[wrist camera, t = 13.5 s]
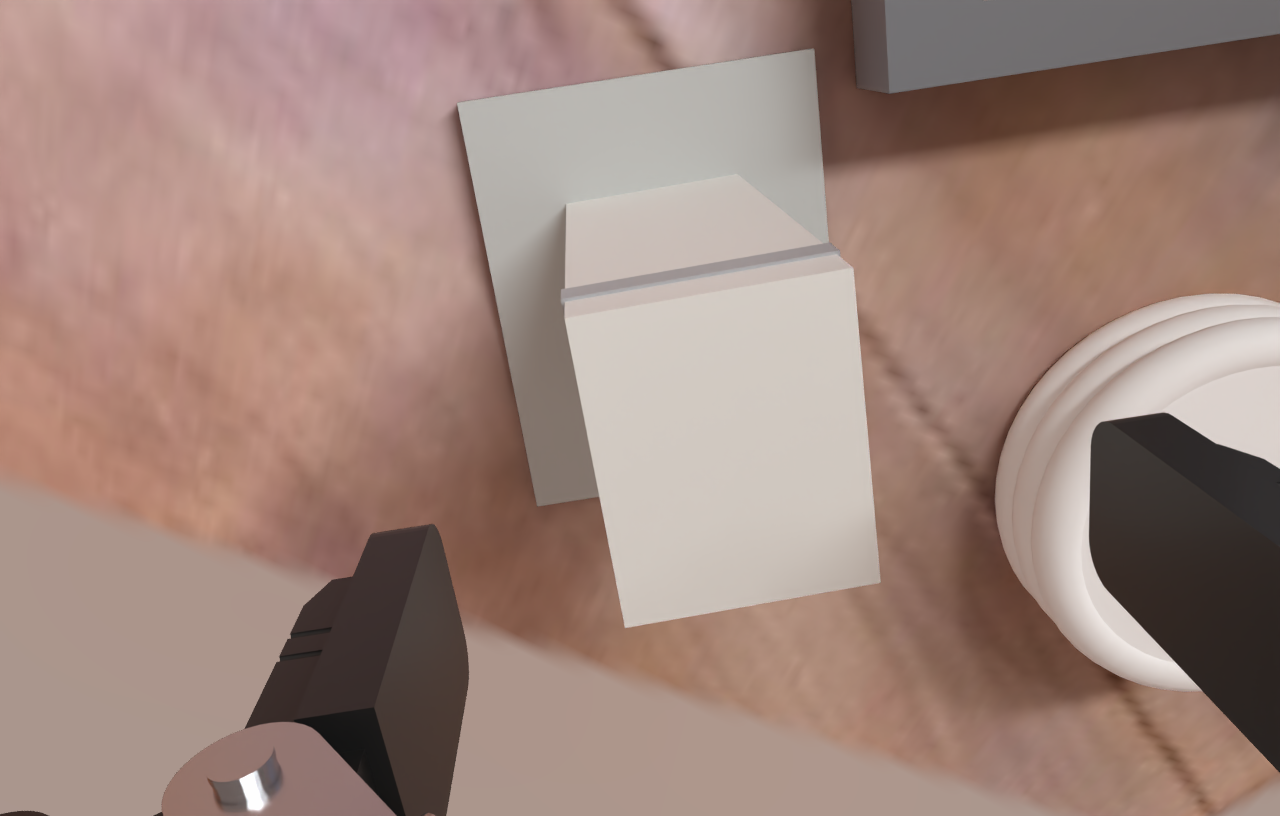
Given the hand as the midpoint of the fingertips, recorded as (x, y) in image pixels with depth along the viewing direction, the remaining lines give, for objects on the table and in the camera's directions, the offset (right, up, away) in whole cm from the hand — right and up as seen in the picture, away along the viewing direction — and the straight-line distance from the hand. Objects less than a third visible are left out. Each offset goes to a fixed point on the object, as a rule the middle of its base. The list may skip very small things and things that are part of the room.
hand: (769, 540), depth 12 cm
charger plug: (-1, +4, +12) cm, 13 cm away
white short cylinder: (+13, 0, +15) cm, 20 cm away
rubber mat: (-1, +4, +12) cm, 13 cm away
